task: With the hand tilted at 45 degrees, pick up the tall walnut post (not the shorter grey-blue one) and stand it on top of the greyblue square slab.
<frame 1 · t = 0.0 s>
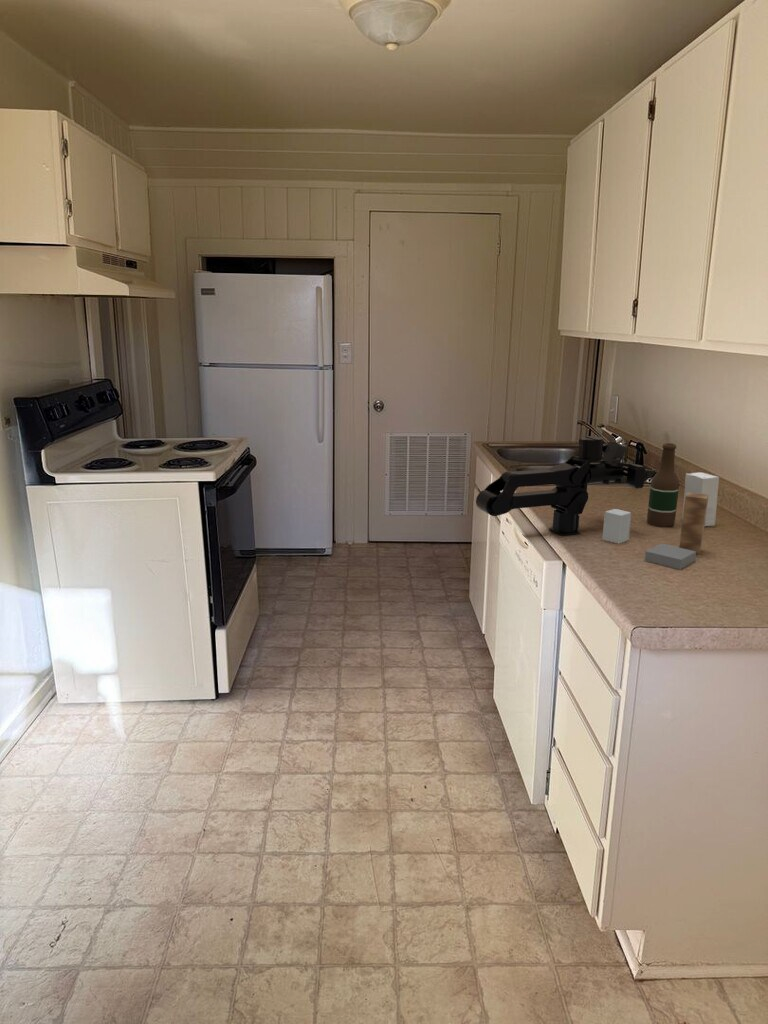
hand: (643, 469, 205), 17 cm above the worktop, tool horizontal, fingers open, 9 cm apart
greyblue square slab: (669, 562, 178), on the worktop
skincare box: (697, 523, 211), on the worktop
walnut post: (690, 550, 186), on the worktop
beer bottle: (660, 524, 210), on the worktop
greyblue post: (615, 540, 195), on the worktop
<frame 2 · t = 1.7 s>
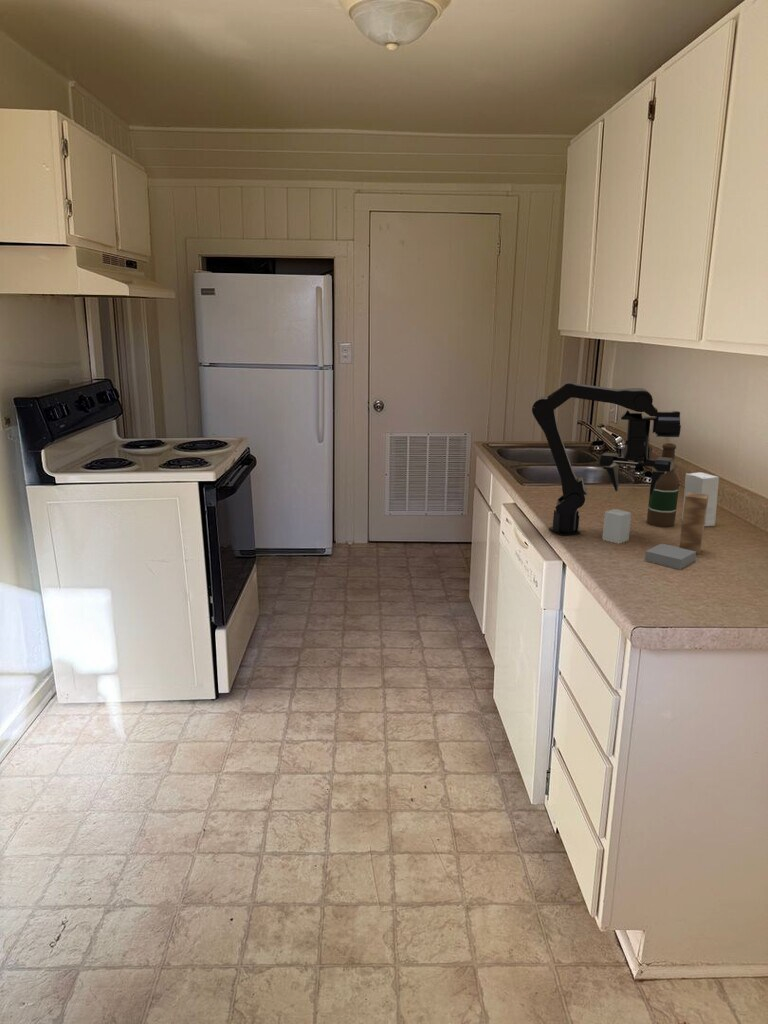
hand: (633, 492, 194), 13 cm above the worktop, tool pointing down, fingers open, 9 cm apart
nothing on the worktop moved.
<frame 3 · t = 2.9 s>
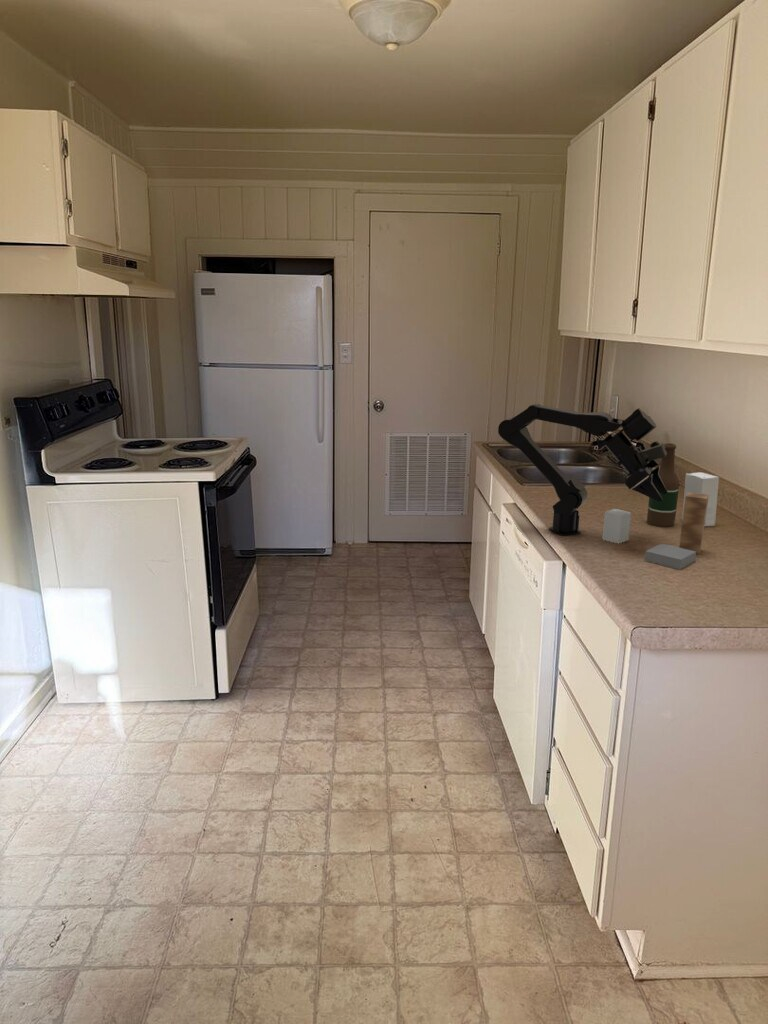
hand: (663, 497, 186), 13 cm above the worktop, tool tilted 45°, fingers open, 9 cm apart
nothing on the worktop moved.
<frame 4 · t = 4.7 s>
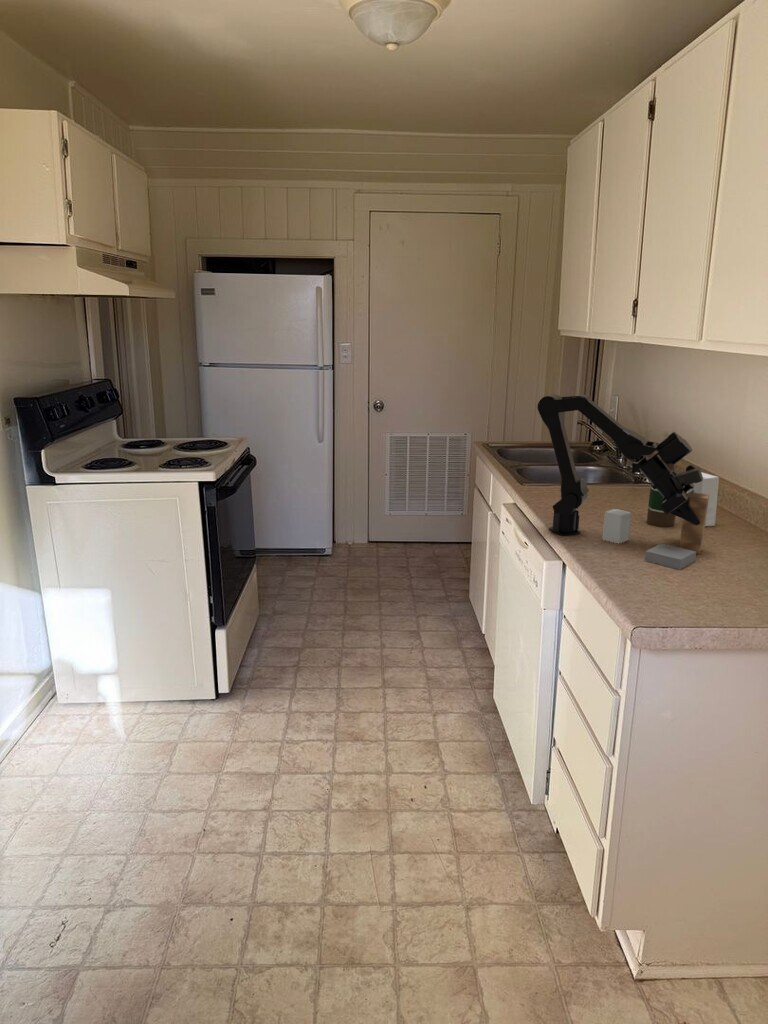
hand: (699, 521, 183), 8 cm above the worktop, tool tilted 45°, fingers closed on walnut post, 5 cm apart
walnut post: (690, 550, 186), on the worktop, touching gripper
everything else where it was.
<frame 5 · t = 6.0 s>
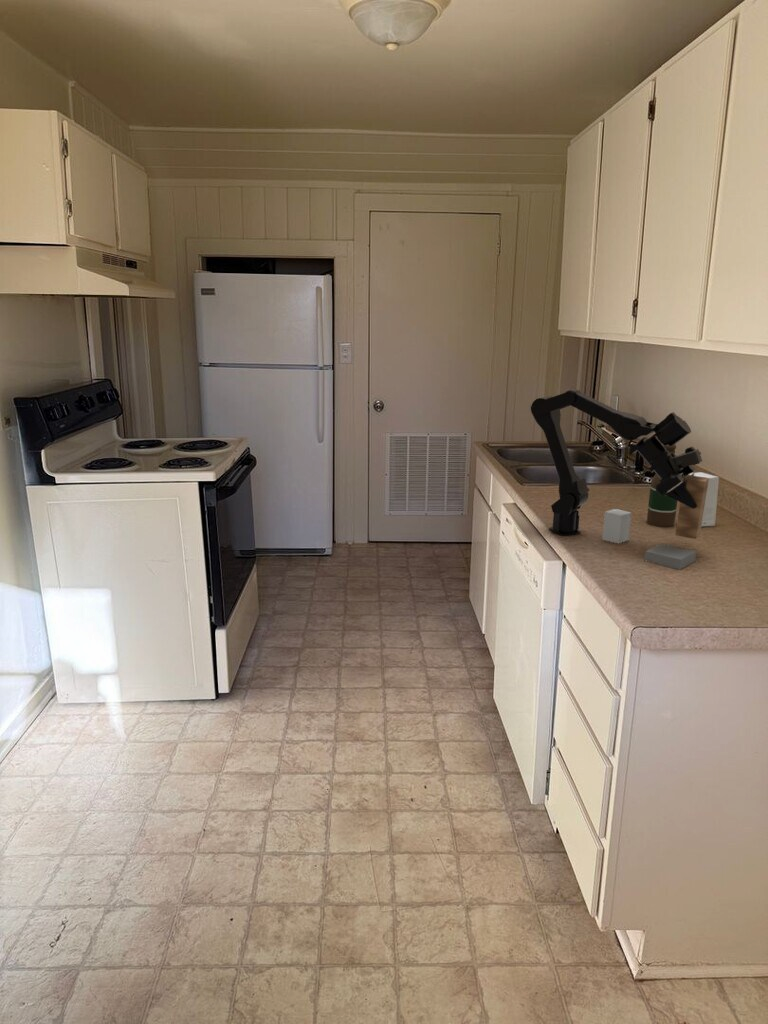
hand: (697, 505, 179), 13 cm above the worktop, tool tilted 45°, fingers closed on walnut post, 5 cm apart
walnut post: (687, 534, 182), point 5 cm above the worktop, touching gripper
everything else where it was.
when the fingers open (12 cm above the worktop, at t = 7.1 s): walnut post drops 1 cm, point 3 cm above the worktop.
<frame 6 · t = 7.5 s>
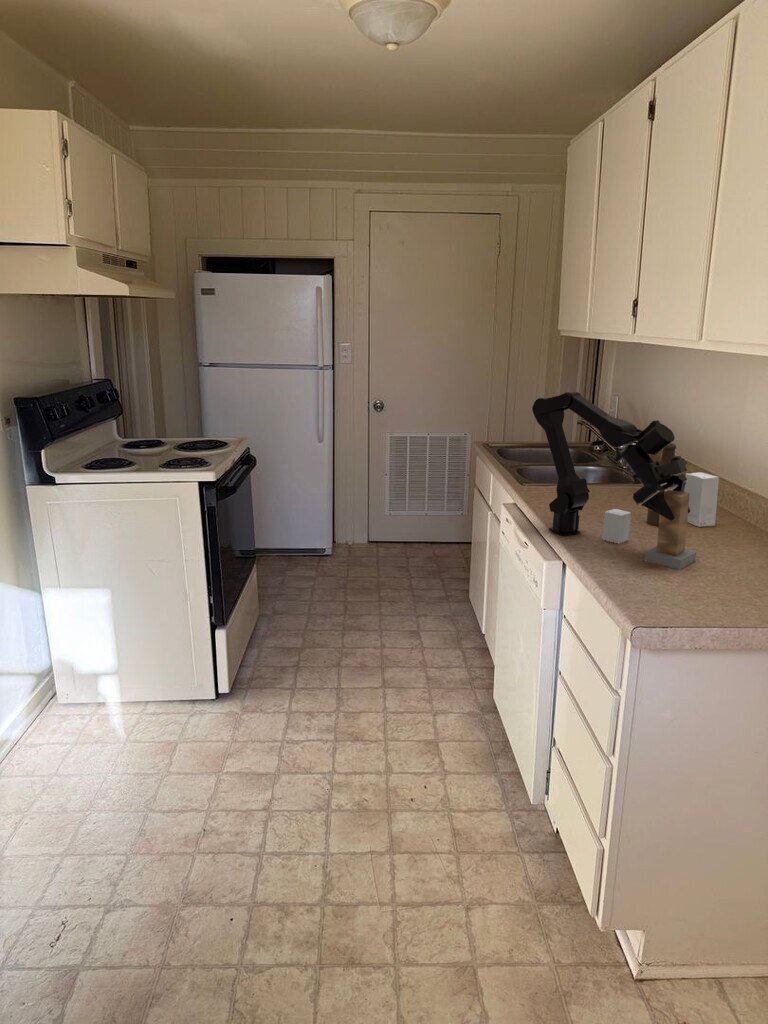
hand: (681, 516, 174), 12 cm above the worktop, tool tilted 45°, fingers open, 9 cm apart
walnut post: (670, 551, 177), point 3 cm above the worktop
everything else where it was.
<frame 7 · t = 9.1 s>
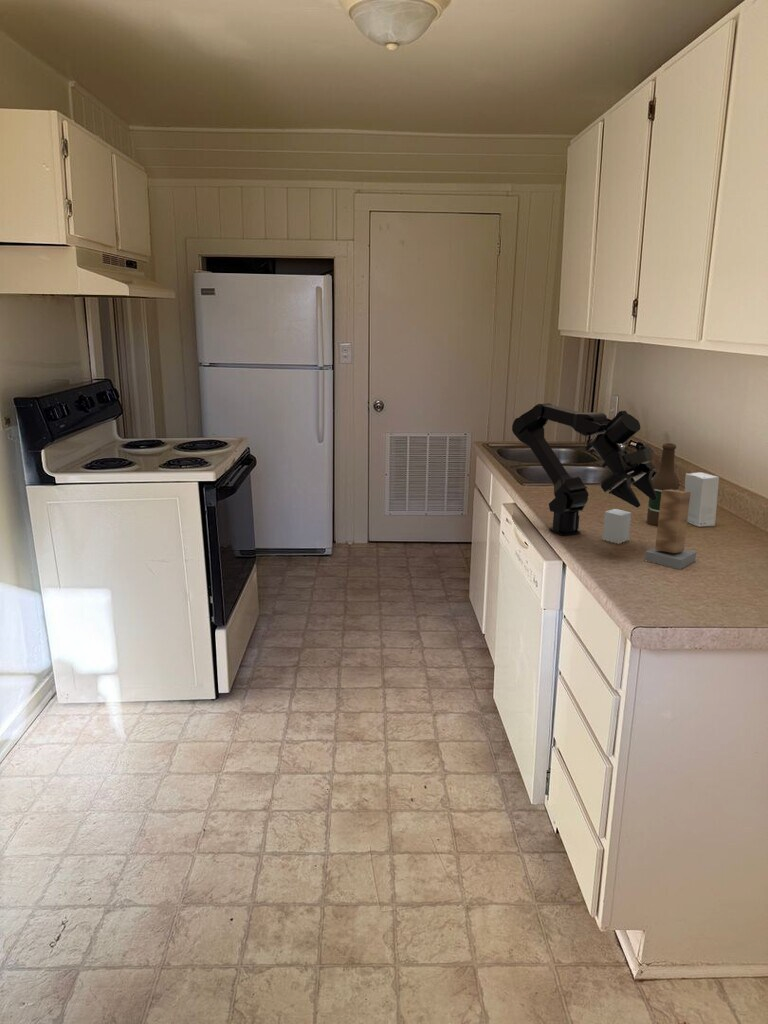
hand: (647, 503, 180), 14 cm above the worktop, tool tilted 45°, fingers open, 9 cm apart
greyblue square slab: (669, 563, 178), on the worktop, touching walnut post
walnut post: (669, 550, 177), point 3 cm above the worktop, tilted 8°, touching greyblue square slab
everything else where it was.
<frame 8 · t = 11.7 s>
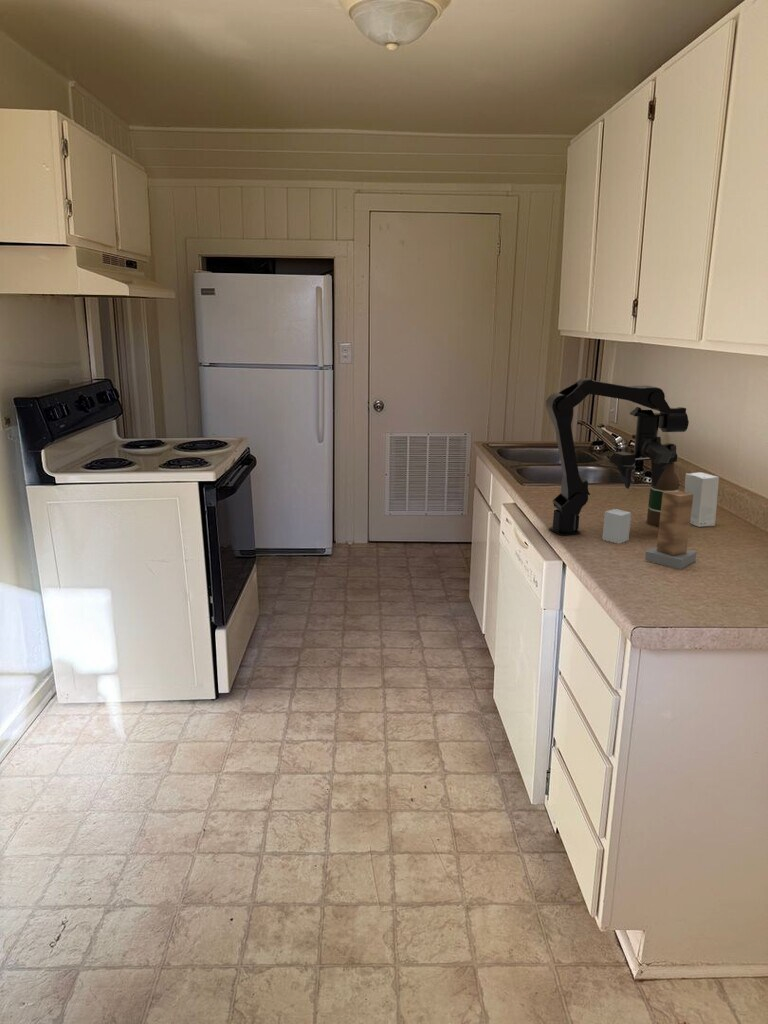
hand: (640, 487, 199), 13 cm above the worktop, tool pointing down, fingers open, 9 cm apart
greyblue square slab: (670, 562, 178), on the worktop
walnut post: (671, 551, 177), point 3 cm above the worktop
everything else where it was.
at the end: walnut post 0.1 cm off-centre on the greyblue square slab, point 3.4 cm above the greyblue square slab's base; walnut post tilted 9°; the gripper is holding nothing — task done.
